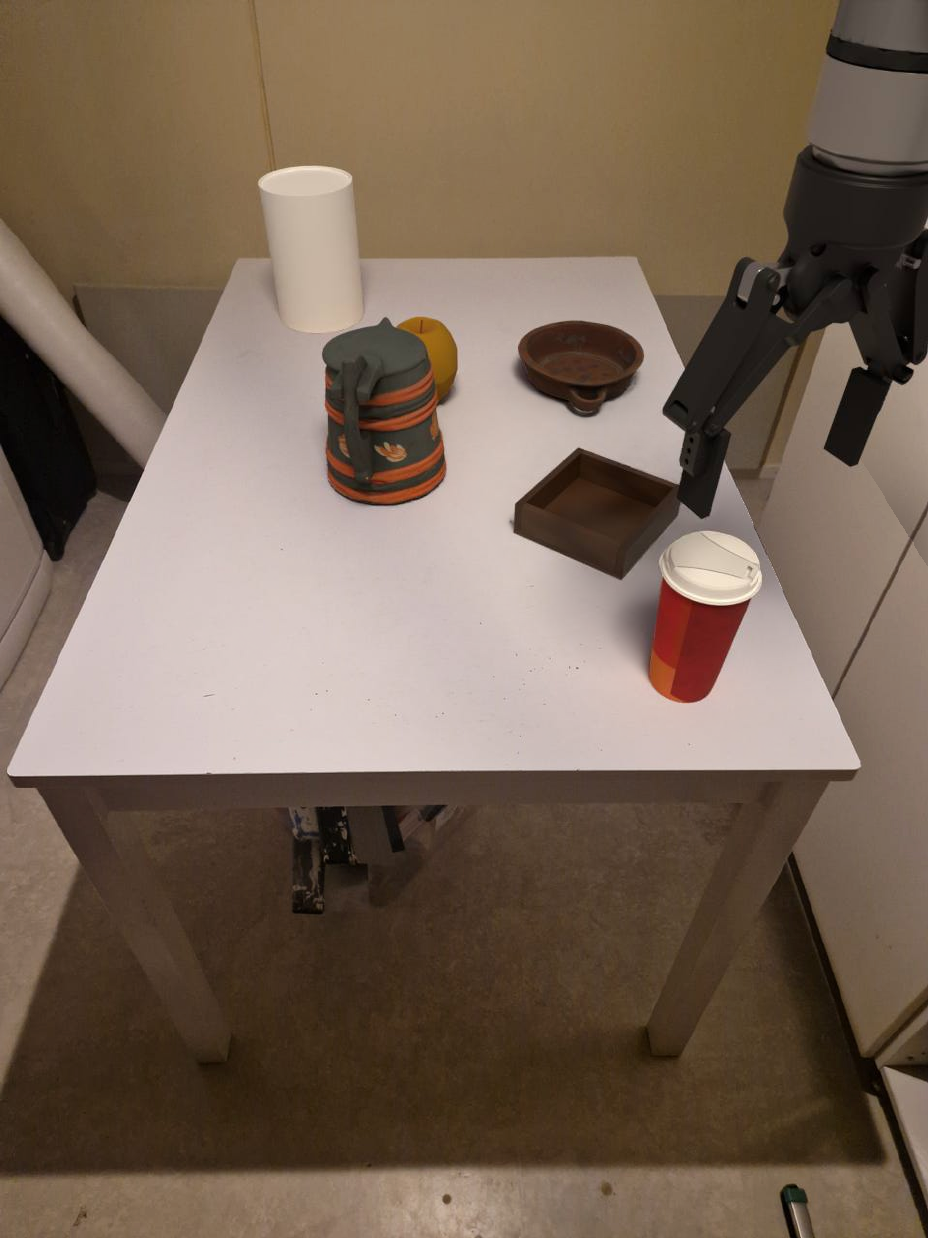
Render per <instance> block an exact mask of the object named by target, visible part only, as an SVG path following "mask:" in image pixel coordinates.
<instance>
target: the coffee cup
mask: <svg viewBox="0 0 928 1238" xmlns="http://www.w3.org/2000/svg"><path fill="white" fill-rule="evenodd" d="M760 564H761V563H760V560H759V558H758V555H757V554H756V552H755V550H753V548H752V547H750V545H749V544H747V543H746V542H744V541H743V540H742V539H740V538H738V537H735V536H733V535H730V534H728V533H724V532H718V531H715V530H699V531H694V532H691V533H687V534H684V535H682V536H680V537H679V538H678V539H676V540H674V541H673V542H671V543H670V544H669V545H668V547H666V548H665V549H664V551H662V553H661V555H660V556H659V560H658V566H659V568H660V572H661V575H662V578H661V585H660V590H659V591H660V592H659V598H658V606H657V612H656V618H655V625H654V632H653V639H652V646H651V653H650V662H649V671H648V672H649V673H648V674H649V682H650V683H651V686H652V687H653V689H654V690H655V691H656V692H657V693H658V694H660V695H661V696H662V697H664V698H666V699H668V700H671V701H673V702H676V703H682V704H691V703H697V702H700V701H702V700H704V699H705V698H706V697H708V696H709V695H710V693H711V692H712V690H713V689H714V686H715V684H716V682H717V681H718V677H719V675H720V673H721V670H722V668H723V666H724V664H725V662H726V659H727V656H728V654H729V652H730V649H731V647H732V645H733V643H734V640H735V637H736V635H737V632H738V631H739V629H740V626H741V624H742V622H743V620H744V617H745V615H746V614H747V610H748V608H749V605H750V603H751V600H752V598H753V597H754V596H755V595H757V593H758V592H759V590H760V589H761V586H762V582H763V575H762V571H761V565H760Z"/></svg>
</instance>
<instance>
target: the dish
mask: <svg viewBox="0 0 928 1238" xmlns="http://www.w3.org/2000/svg"><path fill="white" fill-rule="evenodd" d="M517 351H518V355H519V357H520V358H521V360H522V362H523V366H524V369H525V372H526V375H527V376H528V378H529V380H530V382H531V384H532V385H533V386H534V387H535V388H537V389H538V390H539V391H541V392H543V393H545V394H547V395H550V396H552V397H555V398H558V399H562V400H567V401H568V402H569V403H570V404H571V406H573V408H575V409H576V410H578V411H581V412H585V413H591V412H594V411H597V410H599V409H600V408H601V407H602V405H603V404H604V401H605V400H608V399H610V398H614V397H616V396H617V395H619V394H621V393H622V392H623V391H625V390H626V389H627V387H628V386H629V385H630V383H631V382H632V380H633V378H634V375H635V374H636V372H637V371H638V370H639V368H640V367H641V366H642V365H643V362H644V360H645V351H644V348H643V347H642V345H641V343H640V342H639V341H638V340H637V339H636V338H635V337H633V336H632V335H631V334H629V333H628V332H626V331H624V330H622V328H618V327H616V326H613V325H609V324H604V323H599V322H593V321H585V320H574V319H573V320H572V319H571V320H563V321H562V320H561V321H557V322H550V323H547V324H544V325H540V326H538V327H535V328H533V329H531V330H530V331H528V332H527V333H525V334H524V335H523V336H522V338H521V339H520V341H519V343H518V345H517Z"/></svg>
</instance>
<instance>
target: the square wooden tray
mask: <svg viewBox="0 0 928 1238" xmlns="http://www.w3.org/2000/svg"><path fill="white" fill-rule="evenodd" d="M679 484H680V483H678V484H677V483H675V482H673V481H670V480H667V479H664V478H663V477H659V476H657V475H655V474H651V473H648V472H646V471H644V470H641V469H639V468H635V467H632V466H631V465H627V464H625V463H623V462H619V461H617V460H614V459H611V458H609V457H605V456H603V455H600V454H598V453H595V452H593V451H590V450H587V449H584V448H581V447H579V446H578V447H576V449H574V450H573V451H572V452H571V453H570V454H568V456H566V457H565V458H564V459H563V460H562V461H561V462H560V463H559V464H558V465H556V466H555V467H554V468H553V469H552V470H551V471H550V472H548V474H546V475H545V476H544V477H543V478H542V479H541V480H539V482H538V483H536V484H535V485H534V486H533V487H532V488H531V489H529V490H528V491H527V492H526V493H525V494H524V495H523V496H521V498H519V499H518V500H517V501H516V502H515V503H514V516H513V517H514V518H513V533H514V534H516V535H518V536H520V537H523V538H525V539H526V540H529V541H531V542H534V543H535V544H538V545H541V546H543V547H545V548H548V549H550V550H552V551H554V552H557V553H559V554H561V555H564V556H566V557H568V558H570V559H573V560H575V561H577V562H579V563H581V564H583V565H586V566H589V567H591V568H592V569H595V570H597V571H600V572H603V573H604V574H606V575H609V576H611V577H613V578H615V579H618V580H621V581H622V580H623V579H624V578H625V577H626V576H627V575H628V573H629V572H630V571H631V570H632V568H634V566H635V565H636V564H637V563H638V562H639V561H640V560H641V559H642V558H643V556H644V555H645V554H646V552H648V550H649V549H650V548H651V547H652V546H654V544H655V542H656V541H658V539H659V538H660V537H661V536H662V534H663V533H664V532H665V531H666V530H667V529H668V527H669V526H671V524H672V523H673V522H674V521H675V520H676V518H677V517H678V516H679V513H680V509H681V504H682V502H680V501H679V500H678V499H677V498H676V497H677V493H678V488H679Z"/></svg>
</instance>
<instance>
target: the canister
mask: <svg viewBox="0 0 928 1238" xmlns="http://www.w3.org/2000/svg"><path fill="white" fill-rule="evenodd" d="M257 184H258V190H259V197H260V203H261V209H262V210H261V211H262V214H263V221H264V228H265V233H266V239H267V245H268V251H269V252H268V253H269V257H270V264H271V270H272V277H273V283H274V288H275V289H274V290H275V294H276V301H277V307H278V313H279V318H280V321H281V323H282V325H284V326H285V327H287V328H288V329H291V330H293V331H296V332H300V333H305V334H329V333H335V332H339V331H344V330H346V329H349V328H351V327H354V326H355V325H356V324H358V323H360V322H361V320H363V318H364V316H365V304H364V292H363V282H362V281H363V280H362V270H361V260H360V248H359V238H358V237H359V236H358V227H357V226H358V225H357V216H356V215H357V214H356V213H357V212H356V203H355V192H354V182H353V176H352V175H351V174H350V172H348V171H346V170H344V169H341V168H338V167H331V166H325V165H299V166H290V167H285V168H280V169H276V170H273V171H269V172H268V173H266V174H264V175H262V176H261V177H260V178H259V179H258V182H257Z"/></svg>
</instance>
